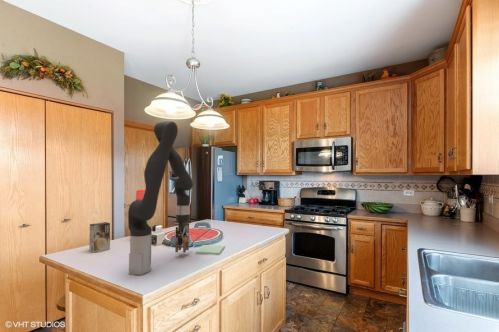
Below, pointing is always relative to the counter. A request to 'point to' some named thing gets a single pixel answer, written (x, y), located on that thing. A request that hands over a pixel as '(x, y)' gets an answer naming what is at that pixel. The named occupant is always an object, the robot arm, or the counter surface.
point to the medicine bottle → (157, 235)
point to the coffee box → (99, 237)
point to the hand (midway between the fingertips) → (182, 243)
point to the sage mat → (210, 249)
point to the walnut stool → (185, 243)
